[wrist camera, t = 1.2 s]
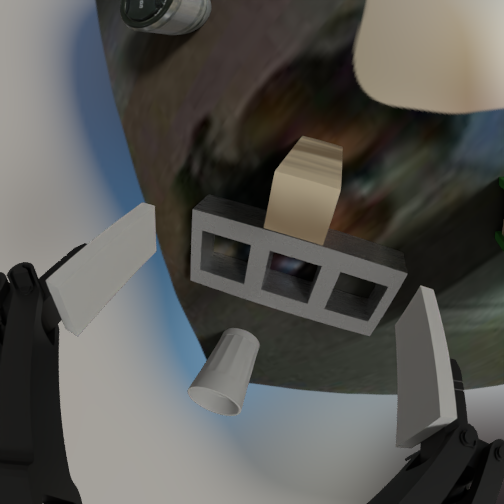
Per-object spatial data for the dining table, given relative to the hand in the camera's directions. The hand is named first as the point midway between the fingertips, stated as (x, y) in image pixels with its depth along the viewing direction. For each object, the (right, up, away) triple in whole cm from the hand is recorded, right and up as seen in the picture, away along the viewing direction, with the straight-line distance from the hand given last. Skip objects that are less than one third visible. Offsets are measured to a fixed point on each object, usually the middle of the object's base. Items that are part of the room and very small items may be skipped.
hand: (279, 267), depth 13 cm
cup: (-3, -14, +33) cm, 36 cm away
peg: (+5, +10, +14) cm, 18 cm away
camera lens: (-8, +26, +8) cm, 28 cm away
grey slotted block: (+4, 0, +21) cm, 21 cm away
